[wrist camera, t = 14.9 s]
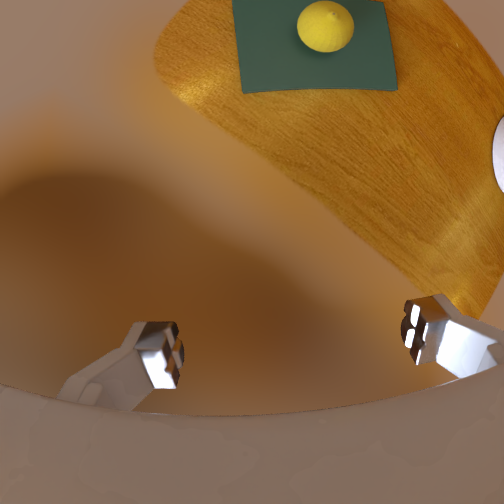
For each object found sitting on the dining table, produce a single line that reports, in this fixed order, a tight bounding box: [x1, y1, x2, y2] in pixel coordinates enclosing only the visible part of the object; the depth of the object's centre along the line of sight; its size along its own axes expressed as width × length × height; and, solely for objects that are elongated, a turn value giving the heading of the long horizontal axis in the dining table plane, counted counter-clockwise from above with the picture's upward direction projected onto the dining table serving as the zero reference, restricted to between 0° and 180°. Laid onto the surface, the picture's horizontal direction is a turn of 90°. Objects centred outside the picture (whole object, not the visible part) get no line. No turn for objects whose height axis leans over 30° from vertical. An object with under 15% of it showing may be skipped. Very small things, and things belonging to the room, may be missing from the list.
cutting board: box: [232, 0, 398, 94], centre depth 28 cm, size 18×12×2 cm, turn 96°
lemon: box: [297, 1, 354, 52], centre depth 23 cm, size 6×6×8 cm
